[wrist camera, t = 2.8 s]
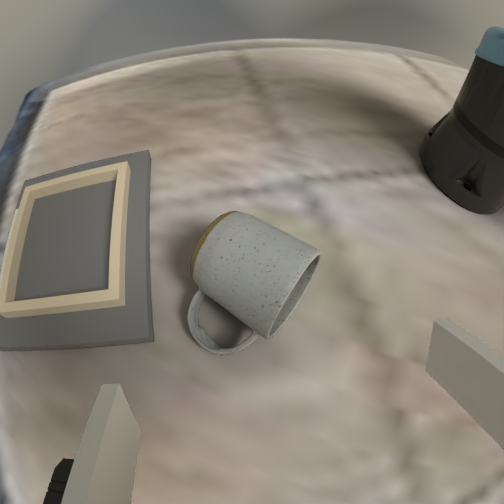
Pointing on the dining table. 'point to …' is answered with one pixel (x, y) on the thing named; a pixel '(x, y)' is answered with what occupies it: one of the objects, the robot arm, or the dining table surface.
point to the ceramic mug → (249, 275)
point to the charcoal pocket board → (79, 259)
